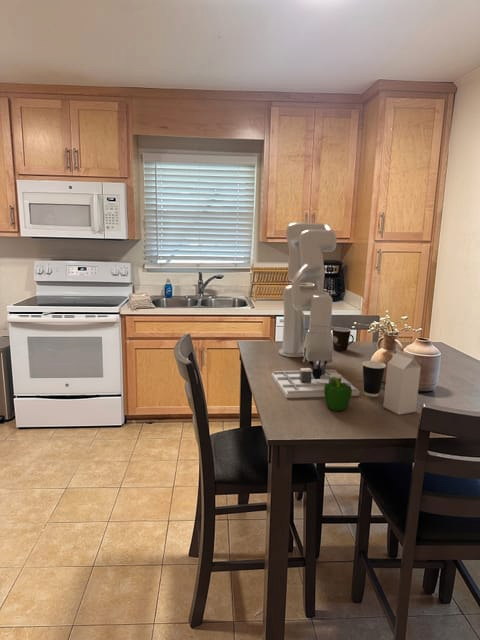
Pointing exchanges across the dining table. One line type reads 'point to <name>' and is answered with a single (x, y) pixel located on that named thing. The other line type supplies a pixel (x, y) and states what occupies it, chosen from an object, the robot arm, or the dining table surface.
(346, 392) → the bell pepper
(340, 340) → the coffee mug
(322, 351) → the robot arm
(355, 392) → the board
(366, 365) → the dixie cup
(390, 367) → the milk carton
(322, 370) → the block
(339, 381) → the breaker right
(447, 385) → the dining table surface
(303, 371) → the block
